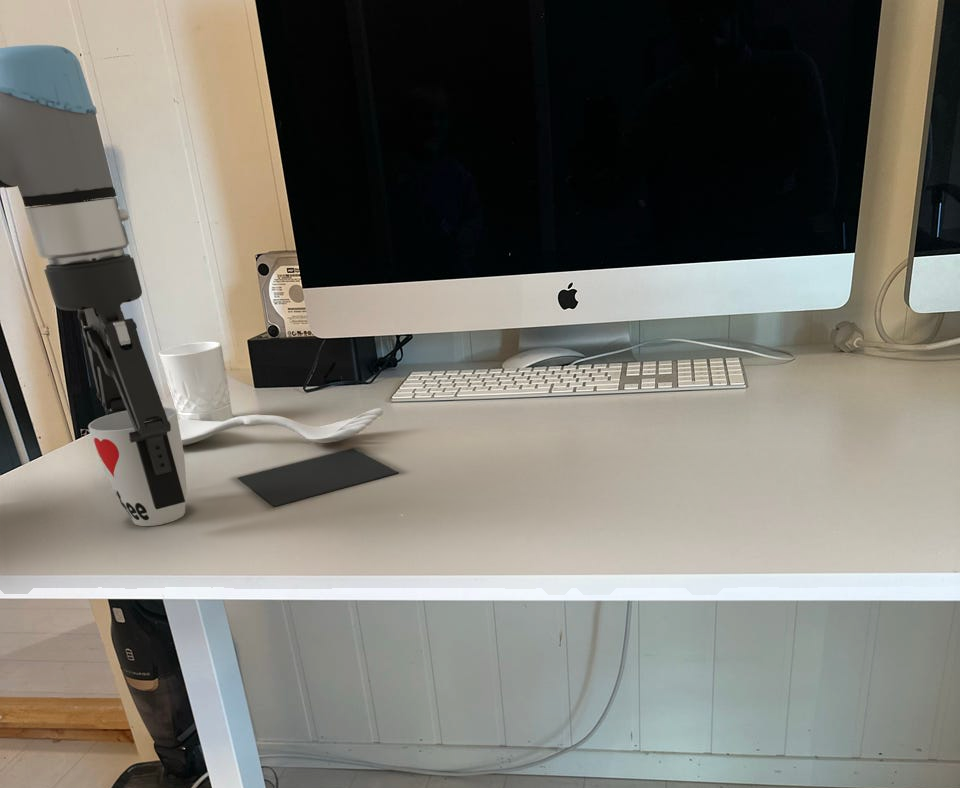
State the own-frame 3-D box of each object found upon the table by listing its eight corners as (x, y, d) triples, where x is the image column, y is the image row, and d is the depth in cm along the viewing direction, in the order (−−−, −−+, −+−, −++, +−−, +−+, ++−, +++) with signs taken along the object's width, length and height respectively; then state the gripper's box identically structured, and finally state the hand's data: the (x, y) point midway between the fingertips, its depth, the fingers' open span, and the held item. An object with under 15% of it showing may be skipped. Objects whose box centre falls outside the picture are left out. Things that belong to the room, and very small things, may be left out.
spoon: (357, 456, 103) (352, 426, 101) (124, 454, 113) (116, 426, 111) (387, 432, 110) (383, 404, 109) (166, 432, 120) (159, 406, 118)
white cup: (244, 423, 120) (227, 346, 115) (185, 437, 117) (166, 358, 112) (228, 412, 126) (211, 339, 122) (172, 424, 123) (152, 349, 119)
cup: (113, 514, 93) (83, 418, 88) (192, 496, 96) (167, 402, 91) (124, 539, 86) (93, 436, 82) (208, 518, 89) (183, 418, 85)
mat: (274, 506, 91) (273, 505, 91) (237, 478, 100) (237, 477, 100) (398, 473, 96) (398, 472, 96) (353, 449, 106) (353, 448, 106)
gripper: (164, 256, 71) (226, 509, 82) (104, 245, 91) (160, 451, 101) (64, 271, 68) (143, 532, 78) (24, 256, 88) (91, 468, 98)
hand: (153, 487), depth 90 cm, fingers open, 13 cm apart
